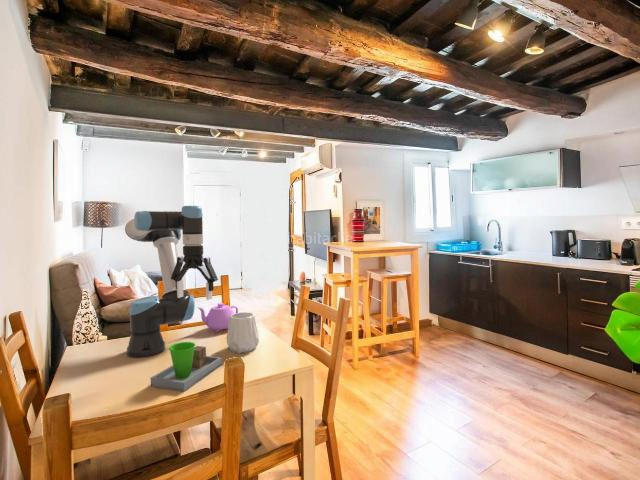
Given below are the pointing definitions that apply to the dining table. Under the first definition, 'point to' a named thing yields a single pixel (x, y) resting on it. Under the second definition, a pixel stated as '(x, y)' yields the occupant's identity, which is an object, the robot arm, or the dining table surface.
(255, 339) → the vase
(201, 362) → the walnut block
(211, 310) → the teapot
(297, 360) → the dining table surface
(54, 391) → the dining table surface
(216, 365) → the tray
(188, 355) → the cup
